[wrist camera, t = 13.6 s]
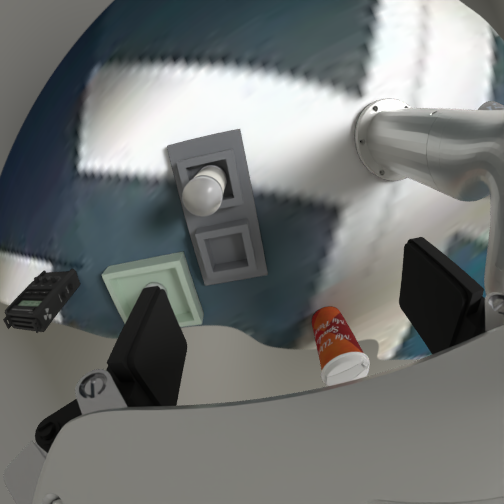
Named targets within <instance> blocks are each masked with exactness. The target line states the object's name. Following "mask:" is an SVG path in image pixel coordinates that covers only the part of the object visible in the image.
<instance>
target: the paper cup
mask: <svg viewBox="0 0 504 504" xmlns="http://www.w3.org/2000/svg"><path fill="white" fill-rule="evenodd" d="M312 326H313V331H314V336H315V341H316V345H317V350H318V355H319V359H320V364H321V369H322V372H321V378H322V381H323V382H324V383H325V384H326V385H327V386H331V385H336V384H340V383H344V382H348V381H352V380H356V379H359V378H363V377H366V376H367V374H368V371H369V358H368V356H367V355H366V354H364V353H363V351H362V349H361V348H360V346H359V344H358V342H357V340H356V338H355V336H354V334H353V333H352V331H351V329H350V328H349V326H348V324H347V322H346V321H345V319H344V317H343V316H342V314H341V313H340V311H339V310H338V309H337V308H335V307H324V308H321V309H320V310H318V311H317V312H316V313H315V314H314V315H313V318H312Z"/></svg>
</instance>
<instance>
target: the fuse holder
mask: <svg viewBox="0 0 504 504" xmlns="http://www.w3.org/2000/svg"><path fill="white" fill-rule="evenodd" d="M167 148H168V153H169V157H170V161H171V165H172V169H173V173H174V177H175V181H176V185H177V189H178V193H179V197H180V201H181V204H182V208H183V212H184V215H185V219H186V223H187V226H188V230H189V233H190V237H191V240H192V244H193V247H194V251H195V254H196V257H197V261H198V264H199V267H200V271H201V274H202V277H203V280H204V284H205V286H207V285H213V284H219V283H224V282H230V281H236V280H242V279H248V278H253V277H259V276H265V275H268V272H267V267H266V261H265V256H264V251H263V245H262V240H261V234H260V229H259V224H258V219H257V213H256V208H255V203H254V198H253V192H252V187H251V182H250V177H249V172H248V166H247V161H246V156H245V151H244V146H243V141H242V136H241V131H240V129H236V130H231V131H226V132H222V133H217V134H212V135H208V136H204V137H199V138H195V139H191V140H187V141H183V142H179V143H176V144H172V145H168V146H167ZM207 165H217V166H220V167H221V168H222V169H223V170H224V171H225V172H226V175H227V184H226V187H225V189H224V193H223V198H222V202H221V205H220V207H219V208H218V210H217V211H216V212H214V213H213V214H211V215H209V216H202V217H201V216H196V215H194V214H192V213H190V212H189V211H188V210H187V209H186V207H185V206H184V204H183V200H182V193H183V190H184V188H185V186H186V185H187V184H188V183H189V181H190V180H192V179H193V178H194V177H195V176H196V175H197V174H198V172H199V171H200V170H201V169H202V168H203V167H205V166H207Z"/></svg>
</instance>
